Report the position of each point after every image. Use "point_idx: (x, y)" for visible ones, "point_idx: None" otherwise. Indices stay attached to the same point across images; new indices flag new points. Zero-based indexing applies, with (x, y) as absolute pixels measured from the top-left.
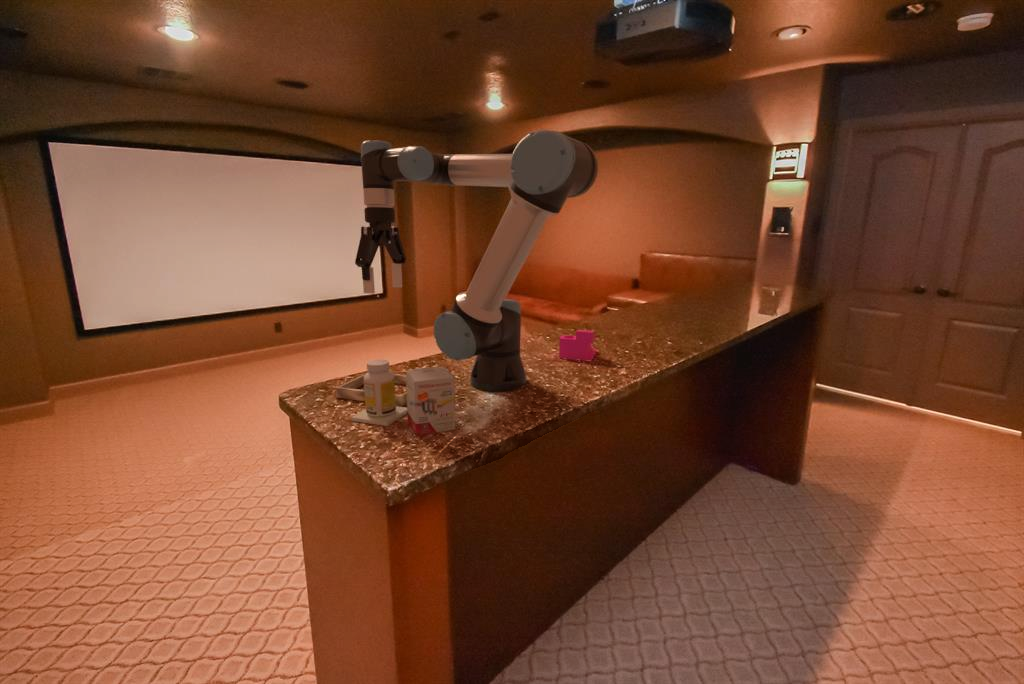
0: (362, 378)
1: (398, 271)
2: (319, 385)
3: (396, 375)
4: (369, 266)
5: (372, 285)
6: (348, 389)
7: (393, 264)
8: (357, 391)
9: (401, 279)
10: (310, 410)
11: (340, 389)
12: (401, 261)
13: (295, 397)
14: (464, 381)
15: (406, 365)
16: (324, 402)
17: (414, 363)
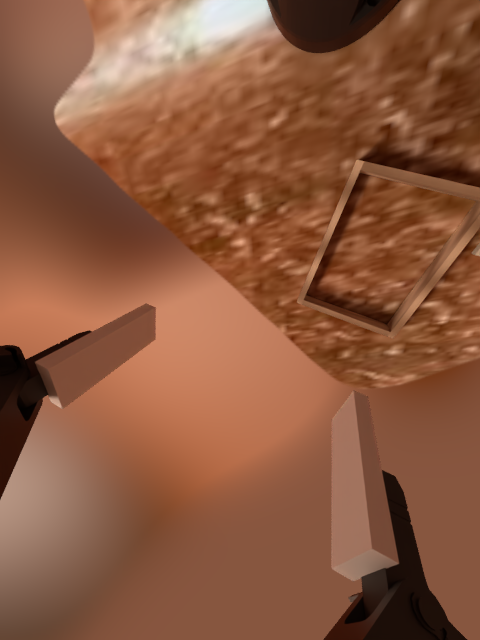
0: (327, 307)
1: (96, 351)
2: (320, 360)
3: (325, 248)
4: (424, 593)
5: (372, 429)
6: (410, 316)
7: (64, 396)
8: (423, 299)
9: (123, 319)
10: (454, 353)
11: (399, 329)
12: (14, 369)
13: (376, 379)
14: (314, 81)
15: (214, 256)
16: (413, 341)
17: (201, 244)
